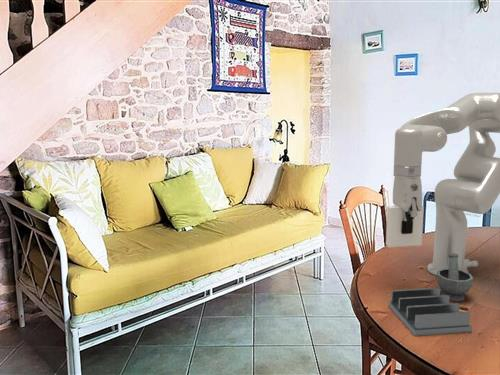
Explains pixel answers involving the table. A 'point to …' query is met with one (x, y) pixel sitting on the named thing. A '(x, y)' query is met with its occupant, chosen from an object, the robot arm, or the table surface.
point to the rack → (428, 312)
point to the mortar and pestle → (454, 280)
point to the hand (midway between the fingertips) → (404, 231)
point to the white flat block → (395, 225)
